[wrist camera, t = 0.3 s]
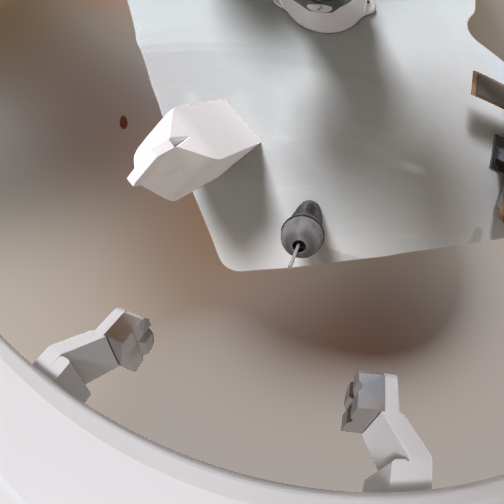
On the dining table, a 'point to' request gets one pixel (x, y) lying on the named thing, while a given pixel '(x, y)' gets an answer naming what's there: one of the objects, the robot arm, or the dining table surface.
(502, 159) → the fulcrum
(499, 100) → the lever
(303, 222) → the beverage cup
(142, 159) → the milk
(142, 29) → the dining table surface
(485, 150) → the dining table surface
